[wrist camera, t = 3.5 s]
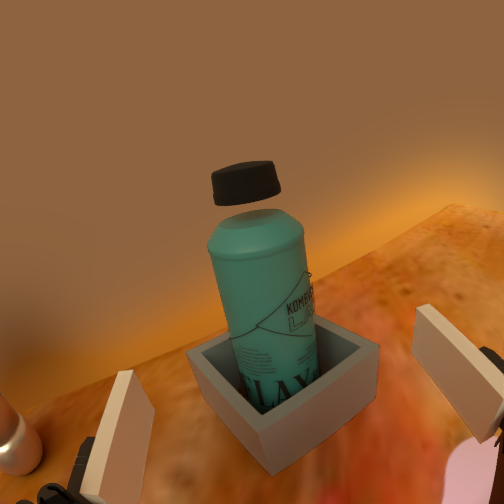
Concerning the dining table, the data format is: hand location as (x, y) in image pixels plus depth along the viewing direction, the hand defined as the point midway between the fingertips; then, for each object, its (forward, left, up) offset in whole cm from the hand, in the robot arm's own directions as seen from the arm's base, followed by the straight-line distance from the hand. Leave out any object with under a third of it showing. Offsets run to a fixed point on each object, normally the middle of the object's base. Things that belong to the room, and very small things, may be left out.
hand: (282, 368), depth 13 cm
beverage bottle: (+8, -4, -12) cm, 15 cm away
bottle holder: (+8, -4, -12) cm, 15 cm away
